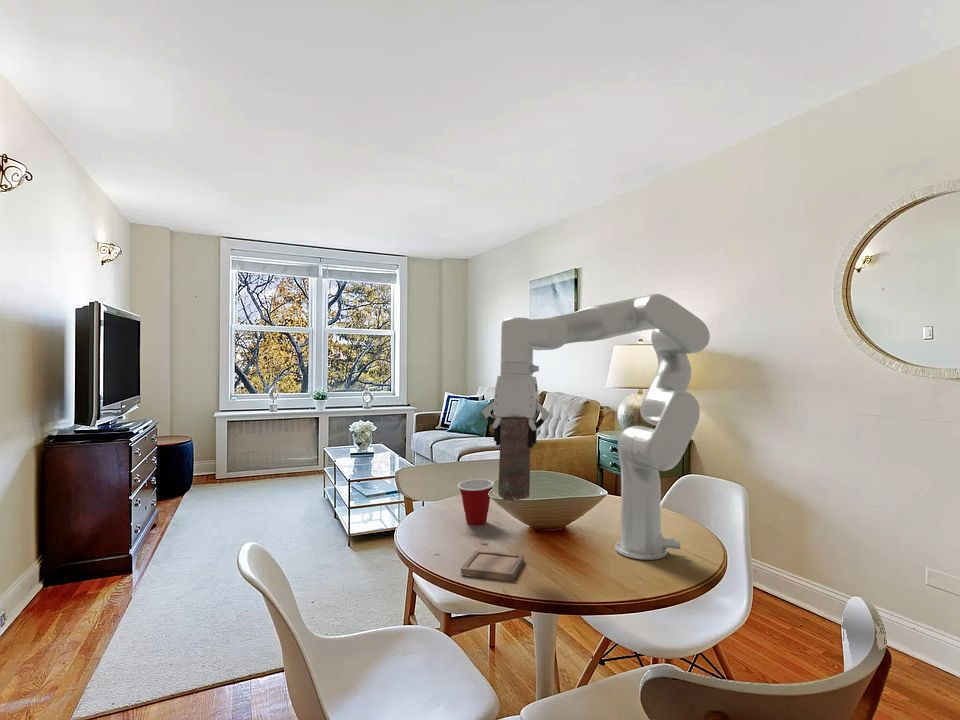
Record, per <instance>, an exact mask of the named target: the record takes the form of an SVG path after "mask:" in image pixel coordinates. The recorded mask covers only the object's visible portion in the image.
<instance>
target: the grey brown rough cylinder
mask: <svg viewBox="0 0 960 720" xmlns="http://www.w3.org/2000/svg"><path fill="white" fill-rule="evenodd" d="M530 428H531V427H530V425H529V419H528V418H527V417H521V418H516V419H510V418H501V422H500V445H499V459H498V460H499V463H498V465H499V466H498V488H497V489H498V490H497V491H498V493H497V494H498V496H499V497H500V498H502V500H504V501H514V500H515V501H519V500H523V499H528V498H530V487H531V486H530V485H531V478H530V477H531V448H529V431H530Z"/></svg>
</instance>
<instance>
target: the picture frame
mask: <svg viewBox="0 0 960 720" xmlns="http://www.w3.org/2000/svg"><path fill="white" fill-rule="evenodd" d="M524 562H525V555H524V554H514V553H508V552H507V553H504V552H495V551H485V550H477V549H476V550H475V551H474V552H473V553H472V554H471V556H470V557H469V558H468V559H467V561H466V562H465V563H464V564H463V565H462V566H461V568H460V575H461V574H463V575H462V576H464V575H470V576H469V577H473V576H477V577H476V578H481V577H484V578H483V579H490V578H491V579H493V580H499V581H509V582H513V581H514V580H515V578H516V577H517V575H518V572H520V570H519V569H521V567H523V564H524Z"/></svg>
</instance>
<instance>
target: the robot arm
mask: <svg viewBox="0 0 960 720" xmlns="http://www.w3.org/2000/svg"><path fill="white" fill-rule="evenodd" d="M649 330H652V331H651V336H650V337H651V339H650V341H651V344H652V346H653V350H654V351H655V354H656V357H657V358H656V359H657V363H658V364H657V369H656V371H655V372H656V373H655V375H654V377H653V379H652V381H651V383H650V385H649V387H648V389H647V391H646V393H645V395H644V397H643V399H642V401H641V404H640V409H639V411H640V412H639V413H640V415H641V418H642V419H643V420H644V422H646V423H648V424H650V425H653V426H655V428H652V427H649V426H643V425H632V426H629V427H627V428H625V429H624V430H623V431H622V432H621V433H620V435H619V437H618V440H617V454H618V459H619V464H620V477H621V480H620V482H621V490H620V491H621V501H620V503H621V508H620V509H621V510H620V511H621V515H620V516H621V517H620V518H621V519H620V520H621V521H620V523H621V525H620V526H621V527H620V529H621V531H620V532H621V534H620V535H621V537H620V538H621V539H620V540H618V541H617V542H615V544H614V549H615V551H616V552H617V553H618V554H620V555H622V556H625V557H627V558H631V559H636V560H642V561H643V560H644V561H645V560H647V561H651V560H653V561H654V560H660V559H662V558H665V557H666V556H667V554H668V549H674V550H681V541H680V540H675V538H671V537H669V538H667V537H665V536H663V533H662V532H663V531H661V519H662V518H661V514H662V513H661V502H662V501H661V498H662V497H661V495H662V494H661V489H662V487H661V485H662V483H661V478H660V477H661V476H660V472H666V471H669V470H672V469H673V468H675V467H676V466H677V465H678V463H679V462H680V461H681V459H682V457H684V456H683V455H684V453H685V452H686V449H687V447H688V445H689V443H690V440H691V439H692V437H693V434H694V432H695V430H696V428H697V426H698V423H699V421H700V416H701V415H700V413H701V409H700V404H699V402H698V400H697V398H696V397H695V396H694V394H692V393H690V392H688V391H687V390H688V388H689V384H690V382H691V379H692V368H691V363H690V359H689V357H688V354H691V355H692V354H696V353H697V354H698V353H700V352H702V351H703V350H704V349H705V348H706V347H707V346H708V345H709V342H710V336H711V335H710V331H709V328H708V326H707V325H706V322H704V321H703V320H702V319H701V318H699V317H698V316H696V315H695V314H694V313H692V312H690V311H689V310H688V309H686V308H685V307H684V306H682V305H681V304H680V303H678V302H676V301H675V300H673V299H672V298H670V297H668V296H666V295H664V294H659V293H653V294H648V295H643V296H637V297H633V298H628V299H623V300H622V299H621V300H618V301H613V302H609V303H604V304H599V305H593V306H590V307H586V308H583V309H579V310H577V311H573V312H568V313H565V314H560V315H556V316H552V317H547V318H532V319H531V318H529V317H517V316H516V317H506V318H505V319H503V320H502V323H501V334H500V335H501V336H500V337H501V339H500V374H499V375H497V377H496V384H495V388H494V389H495V390H494V397H493V401H492V402H491V403H490V404H488V405H487V406H486V407H484V408H483V409H482V410H481V413H482V414H483V416H484V417H485V419H486V421H487V422H488V423H489V424H490V425H491V426H492V428H493V441H494V442H495V446H497V447H499V446H500V422H501V418H510V419H516V418H521V417H527V418H528V419H529V425H530V427H531V428H530V431H529V448H530V449H531V448H533V447H535V445H536V444H537V433H538V432H537V430H538V429H539V428H540V427H541V426H542V425H544V423H545V422H546V421H547V419H548V418H549V417H550V416H551V412H550V411H548V410H547V408H545V407H544V406H543V405H542V404H540V403H539V390H538V382H537V377H536V376H533V375H534V373H536V372H539V370H540V367H539V365H535V364H534V351H551V350H552V351H553V350H557V349H560V348H561V347H563V346H564V345H567V344H572V343H583V342H595V341H602V340H606V339H611V338H615V337H619V336H623V335H624V336H625V335H628V334H632V333H637V332H642V331H649ZM492 410H493V415H494V416H495V417H496V418H495V417H494V416H493V415H492V413H491V412H492ZM539 413H540V414H541V417H540V418H539V419H538V420H537V421H536V419H535V418H537V417H538V415H539ZM667 548H668V549H667Z"/></svg>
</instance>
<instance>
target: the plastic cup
mask: <svg viewBox="0 0 960 720" xmlns="http://www.w3.org/2000/svg"><path fill="white" fill-rule="evenodd" d="M494 485H495V482H494V481H492V480H490V479H485V478H484V479H483V478H476V479H468V480H462V481H461V482H459V483H458V484H457V487H458V489H459V491H460V494H461V497H462V498H461V500H462V504H463V512H464V513H465V514H464V515H465V516H464V517H465V521H466V524H468V525H469V526H476V527H478V526H484V525H485V524H486V523H487V520H488V514H489V508H490V502H491V501H490V500H491V496H490V497H489V495H488V492H489V491H490V490H491V489H492V490H493V487H494Z"/></svg>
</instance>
